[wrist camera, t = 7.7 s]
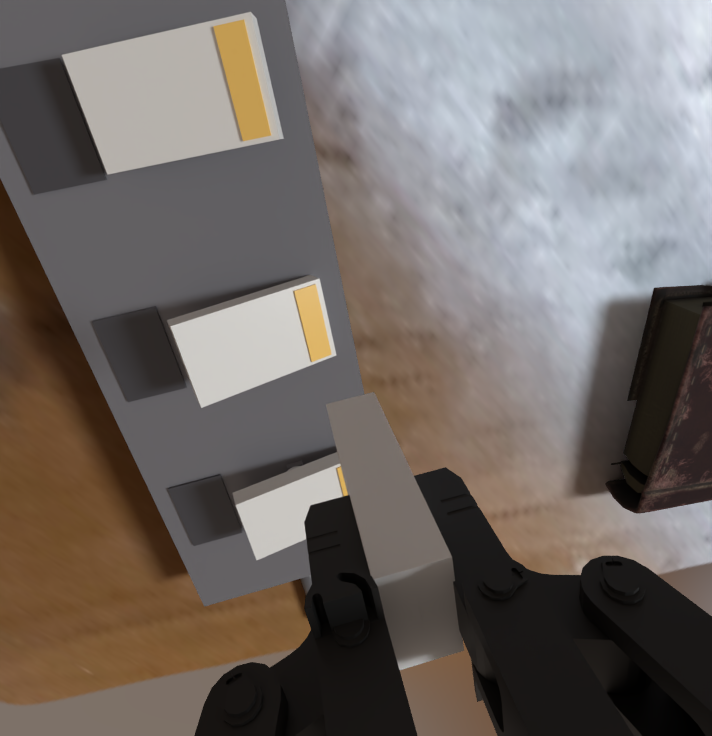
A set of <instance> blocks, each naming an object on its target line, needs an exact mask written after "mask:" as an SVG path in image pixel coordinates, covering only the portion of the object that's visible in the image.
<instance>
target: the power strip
mask: <svg viewBox="0 0 712 736" xmlns="http://www.w3.org/2000/svg"><path fill="white" fill-rule="evenodd" d="M248 12H251V13H252V14H253V15H254V16H255V17H256V18H257V23H258V27H259V31H260V36H261V40H262V45H263V49H264V54H265V58H266V62H267V67H268V71H269V76H270V80H271V85H272V89H273V94H274V98H275V102H276V107H277V111H278V116H279V120H280V125H281V129H282V133H283V138H284V139H279V140H275V141H270V142H265V143H260V144H255V145H250V146H245V147H240V148H236V149H231V150H226V151H221V152H216V153H211V154H206V155H201V156H196V157H192V158H187V159H182V160H177V161H172V162H167V163H162V164H157V165H153V166H148V167H143V168H138V169H133V170H128V171H123V172H118V173H113V174H108V175H107V172H106V170H105V167H104V164H103V162H102V159H101V157H100V154H99V151H98V149H97V146H96V144H95V141H94V138H93V136H92V133H91V130H90V128H89V125H88V123H87V120H86V117H85V115H84V112H83V110H82V107H81V104H80V102H79V99H78V97H77V94H76V91H75V89H74V86H73V84H72V81H71V78H70V76H69V73H68V70H67V68H66V65H65V63H64V60H63V57H62V55H63V54H68V53H72V52H77V51H81V50H85V49H90V48H94V47H98V46H103V45H107V44H112V43H116V42H120V41H125V40H129V39H134V38H138V37H142V36H147V35H151V34H155V33H160V32H164V31H169V30H173V29H177V28H182V27H186V26H191V25H195V24H199V23H204V22H208V21H213V20H217V19H221V18H226V17H230V16H234V15H239V14H243V13H248ZM0 178H1V181H2V183H3V185H4V187H5V189H6V191H7V193H8V195H9V197H10V199H11V202H12V204H13V206H14V208H15V210H16V212H17V214H18V216H19V218H20V220H21V223H22V225H23V227H24V229H25V231H26V233H27V235H28V237H29V239H30V241H31V244H32V246H33V248H34V250H35V252H36V254H37V256H38V258H39V260H40V262H41V265H42V267H43V269H44V271H45V273H46V275H47V277H48V279H49V281H50V283H51V286H52V288H53V290H54V292H55V294H56V296H57V298H58V300H59V302H60V304H61V306H62V309H63V311H64V313H65V315H66V317H67V319H68V321H69V323H70V325H71V327H72V330H73V332H74V334H75V336H76V338H77V340H78V342H79V344H80V346H81V348H82V351H83V353H84V355H85V357H86V359H87V361H88V363H89V365H90V367H91V369H92V372H93V374H94V376H95V378H96V380H97V382H98V384H99V386H100V388H101V390H102V393H103V395H104V397H105V399H106V401H107V403H108V405H109V407H110V409H111V411H112V413H113V416H114V418H115V420H116V422H117V424H118V426H119V428H120V430H121V432H122V434H123V437H124V439H125V441H126V443H127V445H128V447H129V449H130V451H131V453H132V455H133V458H134V460H135V462H136V464H137V466H138V468H139V470H140V472H141V474H142V476H143V479H144V481H145V483H146V485H147V487H148V489H149V491H150V493H151V495H152V497H153V500H154V502H155V504H156V506H157V508H158V510H159V512H160V514H161V516H162V518H163V521H164V523H165V525H166V527H167V529H168V531H169V533H170V535H171V537H172V539H173V541H174V544H175V546H176V548H177V550H178V552H179V554H180V556H181V558H182V560H183V562H184V565H185V567H186V569H187V571H188V573H189V575H190V577H191V579H192V581H193V583H194V586H195V588H196V590H197V592H198V594H199V596H200V598H201V600H202V602H203V604H204V606H208V605H211V604H214V603H218V602H221V601H225V600H228V599H232V598H235V597H239V596H242V595H246V594H249V593H252V592H256V591H259V590H263V589H266V588H270V587H273V586H277V585H280V584H284V583H287V582H290V581H294V580H297V579H301V582H302V585H303V588H304V591H305V594H306V595H307V593H308V591H309V589H310V587H311V585H312V581H311V573H310V565H309V557H308V556H309V555H308V549H307V540H306V539H305V540H303V541H301V542H298V543H296V544H294V545H291V546H289V547H287V548H284V549H282V550H280V551H278V552H275V553H273V554H271V555H268V556H266V557H264V558H261V559H259V560H256V557H255V555H254V552H253V550H252V547H251V544H250V542H249V539H248V536H247V534H246V531H245V529H244V526H243V523H242V521H241V518H240V516H239V513H238V510H237V508H236V505H235V501H234V497H233V492H236V491H238V490H241V489H244V488H246V487H249V486H251V485H254V484H256V483H259V482H261V481H264V480H267V479H269V478H272V477H274V476H277V475H279V474H282V473H284V472H287V471H288V470H289V469H290V468H292V467H294V466H302V465H305V464H307V463H310V462H313V461H315V460H318V459H320V458H323V457H325V456H328V455H330V454H333V453H336V452H337V449H336V444H335V440H334V436H333V432H332V428H331V424H330V420H329V415H328V411H327V407H326V404H329V403H333V402H337V401H341V400H345V399H349V398H353V397H357V396H361V395H364V390H363V385H362V380H361V375H360V370H359V366H358V361H357V356H356V351H355V346H354V341H353V336H352V331H351V326H350V321H349V316H348V311H347V306H346V301H345V296H344V291H343V286H342V281H341V276H340V271H339V266H338V261H337V256H336V251H335V246H334V241H333V236H332V231H331V226H330V221H329V216H328V211H327V206H326V201H325V197H324V192H323V187H322V182H321V177H320V172H319V167H318V162H317V157H316V152H315V147H314V142H313V137H312V132H311V127H310V122H309V117H308V112H307V107H306V102H305V97H304V92H303V87H302V82H301V77H300V72H299V67H298V62H297V57H296V52H295V47H294V42H293V37H292V32H291V28H290V23H289V18H288V13H287V8H286V3H285V0H0ZM308 275H312V276H315V277H317V278H320V283H321V287H322V292H323V296H324V301H325V306H326V310H327V315H328V319H329V324H330V328H331V333H332V337H333V342H334V346H335V351H336V356H334V357H331V358H328V359H326V360H323V361H321V362H318V363H316V364H313V365H310V366H308V367H305V368H303V369H300V370H298V371H295V372H293V373H290V374H287V375H285V376H282V377H280V378H277V379H275V380H272V381H269V382H267V383H264V384H262V385H259V386H257V387H254V388H251V389H249V390H246V391H244V392H241V393H239V394H236V395H233V396H231V397H228V398H226V399H223V400H221V401H218V402H215V403H213V404H210V405H208V406H205V407H203V408H201V406H200V405H199V403H198V401H197V399H196V396H195V393H194V391H193V388H192V385H191V383H190V380H189V378H188V375H187V372H186V370H185V367H184V364H183V362H182V359H181V357H180V354H179V351H178V349H177V346H176V343H175V341H174V338H173V335H172V333H171V330H170V328H169V325H168V322H167V320H169V319H172V318H175V317H178V316H182V315H185V314H188V313H191V312H194V311H197V310H201V309H204V308H207V307H210V306H213V305H216V304H220V303H223V302H226V301H229V300H232V299H235V298H239V297H242V296H245V295H248V294H251V293H254V292H258V291H261V290H264V289H267V288H270V287H273V286H277V285H280V284H283V283H286V282H289V281H292V280H296V279H299V278H302V277H305V276H308Z"/></svg>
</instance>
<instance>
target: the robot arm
mask: <svg viewBox="0 0 712 736" xmlns="http://www.w3.org/2000/svg"><path fill="white" fill-rule="evenodd" d="M326 407H327V411H328V415H329V420H330V424H331V428H332V432H333V436H334V440H335V444H336V449H337V453H338V457H339V461H340V465H341V469H342V473H343V477H344V481H345V485H346V489H347V493H348V495H347V496H343V497H339V498H336V499H332V500H328V501H325V502H321V503H317V504H314V505H310V508H309V511H308V513H307V516H306V519H305V521H304V525H305V533H306V540H307V549H308V555H309V556H308V557H309V565H310V573H311V581H312V585H311V587H310V589H309V591H308V593H307V595H306V599H305V608H304V609H305V612H306V615H307V618H308V621H309V624H310V627H311V631H310V633H309V635H308V637H307V638H306V639H305V641H304V642H303V643H302V644H301V645H300V647H299V648H297V649H296V650H295V651H294V652H292V653H291V654H290V655H288V656H287V657H286V658H284V659H282V660H281V661H279V662H278V663H277V664H275V665H274V666H272V667H270V668H269V667H268V666H267V665H265V664H260V663H253V662H251V663H247V664H243V665H239V666H236V667H235V668H233V669H232V670H230V671H229V672H227V673H226V674H224V675H223V676H222V677H221V678H220V679H219V680H218V682H217V683H216V684H215V685H214V686H213V687H212V689H211V691H210V693H209V695H208V697H207V699H206V701H205V704H204V706H203V710H202V713H201V716H200V719H199V723H198V726H197V729H196V732H195V736H417V732H416V729H415V725H414V722H413V718H412V714H411V710H410V707H409V703H408V700H407V696H406V692H405V689H404V685H403V681H402V678H401V674H400V670H402V669H405V668H408V667H411V666H415V665H418V664H421V663H425V662H428V661H431V660H435V659H438V658H441V657H444V656H448V655H451V654H454V653H457V652H461V651H463V650H464V647H463V640H464V643H465V645H466V647H467V650H468V652H469V655H470V657H471V661H472V669H473V677H474V686H475V692H476V697H477V702H478V701H481V700H483V701H484V703H485V706H486V708H487V711H488V713H489V716H490V718H491V720H492V723H493V725H494V728H495V730H496V733H497V735H498V736H712V616H710V615H709V614H708V613H706V612H705V611H704V610H702V609H701V608H700V607H698V606H697V605H696V604H694V603H693V602H692V601H690V600H689V599H688V598H687V597H685V596H684V595H682V594H681V593H680V592H679V591H677V590H676V589H675V588H673V587H672V586H670V585H669V584H668V583H667V582H665V581H664V580H663V579H661V578H660V577H658V576H657V575H656V574H655V573H654V572H652V571H651V570H650V569H648V568H646V567H645V566H643V565H641V564H639V563H638V562H636V561H634V560H631V559H627V558H624V557H620V556H601V557H598V558H595V559H592V560H590V561H589V562H588V563H587V564H586V565H585V566H584V567H583V569H582V573H581V575H549V574H541V573H537V572H534V571H531V570H528V569H526V568H525V567H524V566H523V565H522V564H520V563H518V562H516V561H514V560H513V559H512V558H511V557H510V556H509V554H508V553H507V552H506V550H505V549H504V547H503V546H502V544H501V542H500V541H499V539H498V537H497V536H496V534H495V533H494V531H493V529H492V528H491V526H490V524H489V523H488V521H487V519H486V518H485V516H484V515H483V513H482V511H481V510H480V508H479V507H478V506H477V503H476V502H475V500H474V498H473V497H472V495H470V492H469V490H468V489H467V487H466V485H465V484H464V482H463V480H462V479H461V478H460V477H459V476H457V475H456V474H454V473H453V472H452V471H450V470H449V469H447V468H446V467H445V468H442V469H438V470H434V471H431V472H427V473H423V474H419V475H416V476H413V473H412V471H411V469H410V467H409V465H408V463H407V461H406V459H405V457H404V455H403V452H402V450H401V448H400V446H399V444H398V442H397V440H396V438H395V436H394V433H393V431H392V429H391V427H390V425H389V423H388V421H387V419H386V417H385V414H384V412H383V410H382V408H381V406H380V404H379V402H378V400H377V398H376V395H375V393H374V392H372V393H369V394H365V395H361V396H357V397H353V398H349V399H345V400H341V401H337V402H333V403H329V404H326ZM462 638H463V639H462ZM482 698H483V699H482Z"/></svg>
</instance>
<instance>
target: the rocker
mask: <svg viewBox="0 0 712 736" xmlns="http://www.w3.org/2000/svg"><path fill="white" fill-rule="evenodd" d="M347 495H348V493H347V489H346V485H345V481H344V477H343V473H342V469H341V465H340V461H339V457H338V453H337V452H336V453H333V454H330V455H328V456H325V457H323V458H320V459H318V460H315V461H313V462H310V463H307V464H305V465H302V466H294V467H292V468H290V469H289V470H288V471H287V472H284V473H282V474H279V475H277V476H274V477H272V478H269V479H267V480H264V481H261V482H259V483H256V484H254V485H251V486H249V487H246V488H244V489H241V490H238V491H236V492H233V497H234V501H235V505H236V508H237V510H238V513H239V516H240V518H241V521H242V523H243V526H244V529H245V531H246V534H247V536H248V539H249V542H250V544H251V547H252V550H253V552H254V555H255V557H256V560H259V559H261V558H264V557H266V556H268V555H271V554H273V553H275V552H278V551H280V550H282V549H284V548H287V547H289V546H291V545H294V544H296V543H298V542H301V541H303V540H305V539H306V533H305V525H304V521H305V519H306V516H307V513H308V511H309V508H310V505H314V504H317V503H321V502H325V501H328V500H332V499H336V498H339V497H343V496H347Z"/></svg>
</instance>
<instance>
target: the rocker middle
mask: <svg viewBox="0 0 712 736" xmlns="http://www.w3.org/2000/svg"><path fill="white" fill-rule="evenodd" d="M167 322H168V325H169V328H170V330H171V333H172V335H173V338H174V341H175V343H176V346H177V349H178V351H179V354H180V357H181V359H182V362H183V364H184V367H185V370H186V372H187V375H188V378H189V380H190V383H191V385H192V388H193V391H194V393H195V396H196V399H197V401H198V403H199V405H200V406H201V408H203V407H205V406H208V405H210V404H213V403H215V402H218V401H221V400H223V399H226V398H228V397H231V396H233V395H236V394H239V393H241V392H244V391H246V390H249V389H251V388H254V387H257V386H259V385H262V384H264V383H267V382H269V381H272V380H275V379H277V378H280V377H282V376H285V375H287V374H290V373H293V372H295V371H298V370H300V369H303V368H305V367H308V366H310V365H313V364H316V363H318V362H321V361H323V360H326V359H328V358H331V357H334V356H336V351H335V346H334V342H333V337H332V333H331V328H330V324H329V319H328V315H327V310H326V306H325V301H324V296H323V292H322V287H321V283H320V278H317V277H315V276H312V275H308V276H305V277H302V278H299V279H296V280H292V281H289V282H286V283H283V284H280V285H277V286H273V287H270V288H267V289H264V290H261V291H258V292H254V293H251V294H248V295H245V296H242V297H239V298H235V299H232V300H229V301H226V302H223V303H220V304H216V305H213V306H210V307H207V308H204V309H201V310H197V311H194V312H191V313H188V314H185V315H182V316H178V317H175V318H172V319H169V320H167Z"/></svg>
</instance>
